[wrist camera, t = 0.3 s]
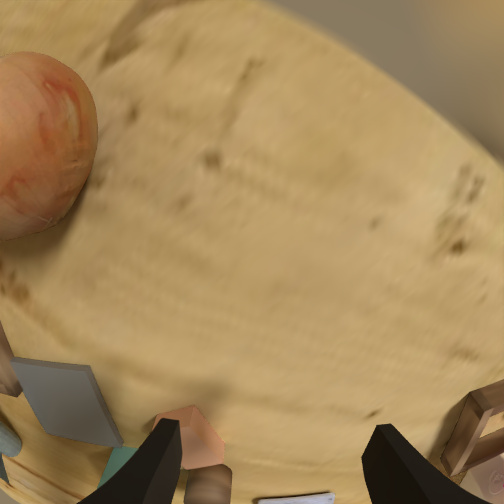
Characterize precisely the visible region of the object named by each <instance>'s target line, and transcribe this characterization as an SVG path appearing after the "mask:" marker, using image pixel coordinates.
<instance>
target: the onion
mask: <svg viewBox="0 0 504 504" xmlns="http://www.w3.org/2000/svg"><path fill="white" fill-rule="evenodd" d="M97 142H98V123H97V115H96V107H95V104H94V101H93V97H92V95H91V92H90V91H89V89H88V87H87V86H86V84H85V83H84V81H83V80H82V79H81V77H80V76H79V75H78V74H77V73H76V72H74V71H73V70H72V69H71V68H69V67H68V66H66V65H65V64H63V63H61V62H60V61H58V60H56V59H54V58H52V57H50V56H47V55H44V54H40V53H36V52H14V53H10V54H6V55H4V56H1V57H0V240H10V239H15V238H19V237H22V236H25V235H28V234H31V233H39V232H42V231H44V230H46V229H48V228H50V227H53V226H55V225H56V224H58V223H59V222H60V221H61V220H62V219H63V218H64V217H65V215H66V213H67V212H68V211H69V209H70V208H71V207H72V205H73V203H74V202H75V200H76V198H77V196H78V194H79V192H80V190H81V189H82V187H83V185H84V183H85V182H86V180H87V177H88V175H89V173H90V171H91V168H92V165H93V161H94V157H95V153H96V150H97Z"/></svg>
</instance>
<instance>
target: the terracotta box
mask: <svg viewBox="0 0 504 504" xmlns="http://www.w3.org/2000/svg"><path fill="white" fill-rule="evenodd" d="M161 418H168V419H174V420H179V422H180V433H181V443H182V452H183V455H182V461H181V466H182V467H183V468H184V469H186V470H188V469H195V468H201V467H207V466H212V465H217V464H223V460H224V450H225V442H224V441H223V440H222V439H221V438H220V436H219V435H218V434H217V433H216V432H215V430H214V429H213V428H212V427H211V426H210V424H209V423H208V422H207V421H206V419H205V418H204V417H203V416H202V414H201V413H200V412H199V411H198V409H197V408H196V407H195V405H193V406H189V407H185V408H181V409H178V410H174V411H170V412H165V413H161V414H157V417H156V420H155V423H154V426H153V428H152V430H153V429H154V428H155V426H156V425H157V423H158V422H159V420H160V419H161ZM151 432H152V431H151Z"/></svg>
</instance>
